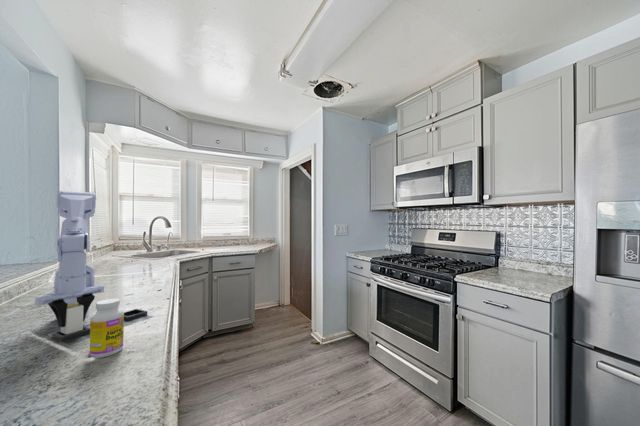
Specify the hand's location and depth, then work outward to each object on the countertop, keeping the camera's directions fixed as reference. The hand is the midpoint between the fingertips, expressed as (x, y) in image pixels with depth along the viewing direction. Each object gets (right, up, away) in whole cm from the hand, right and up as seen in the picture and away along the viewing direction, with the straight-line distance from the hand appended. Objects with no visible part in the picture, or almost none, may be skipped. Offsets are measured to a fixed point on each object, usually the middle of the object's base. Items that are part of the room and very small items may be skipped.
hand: (71, 323), depth 74 cm
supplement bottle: (+17, -4, -8) cm, 19 cm away
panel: (+3, -4, +7) cm, 9 cm away
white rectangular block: (0, -2, 0) cm, 2 cm away
